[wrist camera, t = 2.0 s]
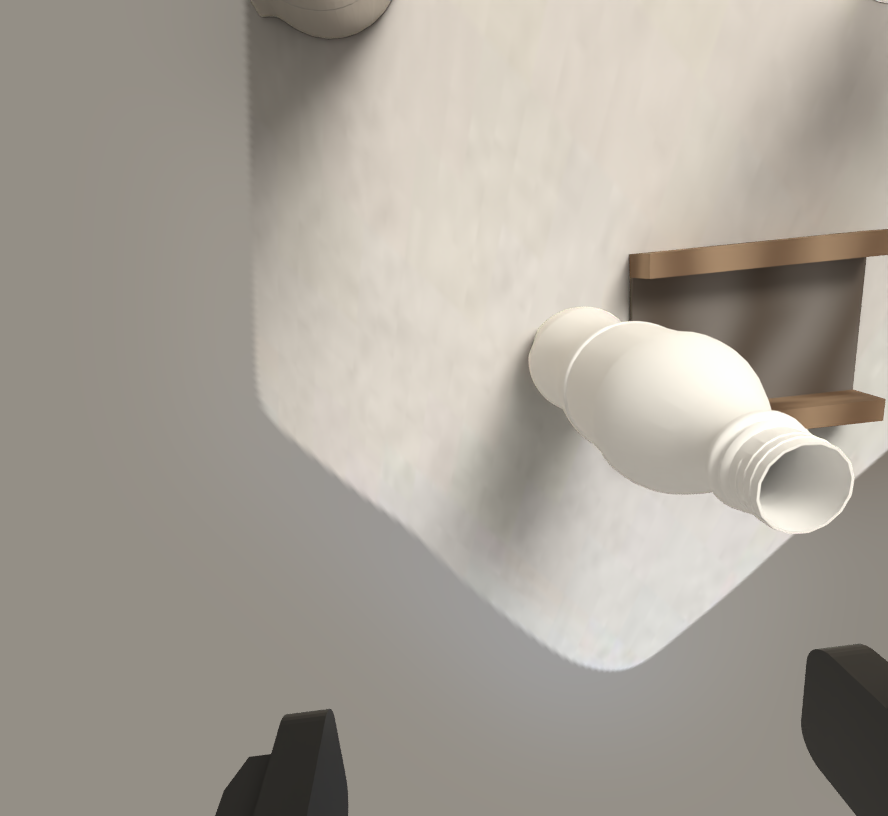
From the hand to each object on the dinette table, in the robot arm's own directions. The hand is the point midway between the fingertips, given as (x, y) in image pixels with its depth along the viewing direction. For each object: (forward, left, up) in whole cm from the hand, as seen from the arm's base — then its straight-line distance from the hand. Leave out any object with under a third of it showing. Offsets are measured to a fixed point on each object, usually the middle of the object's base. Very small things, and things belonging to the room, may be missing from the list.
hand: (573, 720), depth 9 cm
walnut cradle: (+22, 0, -32) cm, 39 cm away
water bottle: (+9, 0, -32) cm, 33 cm away
